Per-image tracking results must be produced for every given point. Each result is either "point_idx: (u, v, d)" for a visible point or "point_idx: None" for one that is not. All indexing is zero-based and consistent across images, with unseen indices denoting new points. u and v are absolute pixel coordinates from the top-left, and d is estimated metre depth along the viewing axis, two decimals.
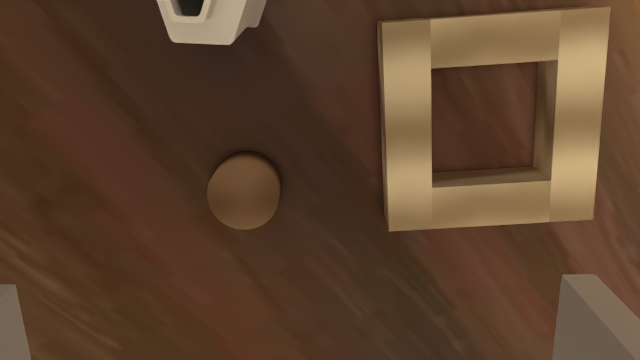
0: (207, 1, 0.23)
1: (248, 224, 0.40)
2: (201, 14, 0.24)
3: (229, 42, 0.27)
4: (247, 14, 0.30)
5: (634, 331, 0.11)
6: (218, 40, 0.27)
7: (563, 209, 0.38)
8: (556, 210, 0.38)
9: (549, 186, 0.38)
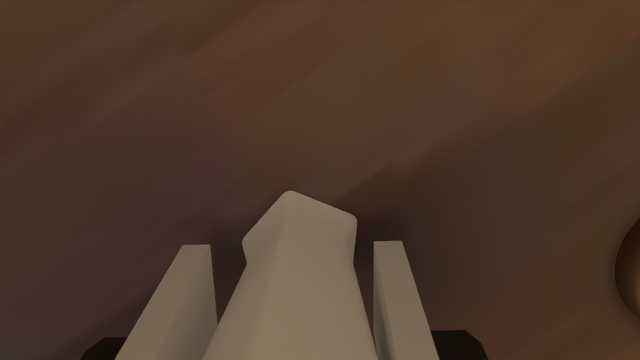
0: None
1: None
2: None
3: None
4: (328, 356, 0.10)
5: (401, 282, 0.13)
6: None
7: None
8: None
9: None
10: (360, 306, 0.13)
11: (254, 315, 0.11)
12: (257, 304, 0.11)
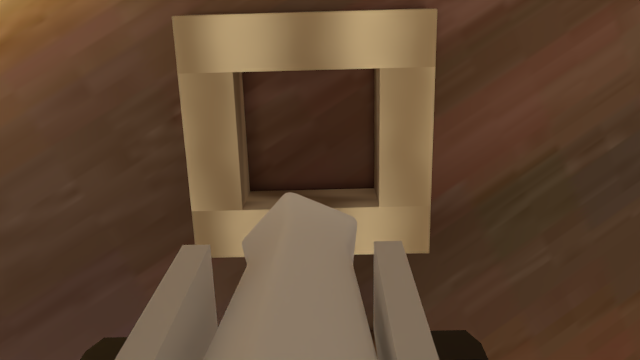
0: None
1: None
2: None
3: None
4: (328, 359, 0.10)
5: (401, 283, 0.13)
6: None
7: (420, 48, 0.30)
8: (419, 58, 0.30)
9: (387, 69, 0.30)
10: (360, 308, 0.13)
11: (254, 318, 0.11)
12: (257, 307, 0.11)
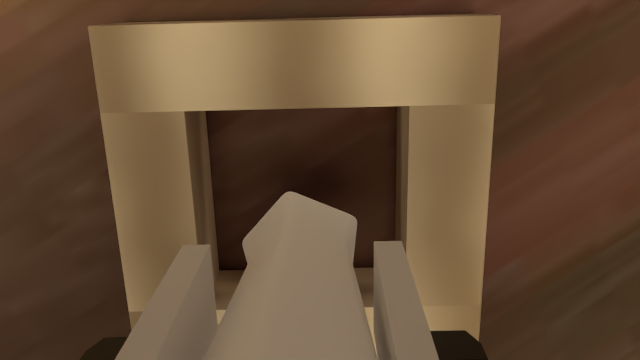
0: None
1: None
2: None
3: None
4: (328, 357, 0.10)
5: (401, 282, 0.13)
6: None
7: (472, 76, 0.19)
8: (471, 92, 0.20)
9: (421, 108, 0.20)
10: (360, 307, 0.13)
11: (254, 316, 0.11)
12: (257, 305, 0.12)
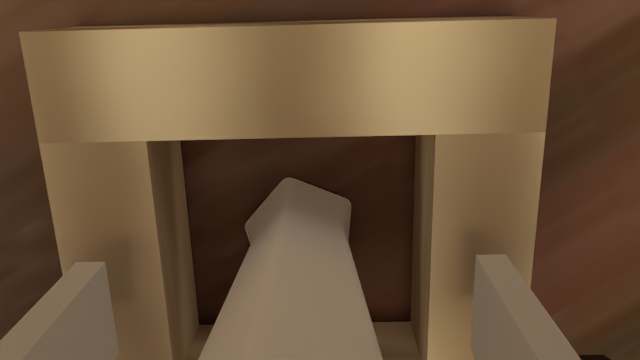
0: None
1: None
2: None
3: None
4: (326, 314, 0.12)
5: (525, 302, 0.12)
6: None
7: (517, 97, 0.15)
8: (515, 117, 0.15)
9: (450, 137, 0.15)
10: (354, 276, 0.14)
11: (260, 282, 0.12)
12: (262, 273, 0.13)
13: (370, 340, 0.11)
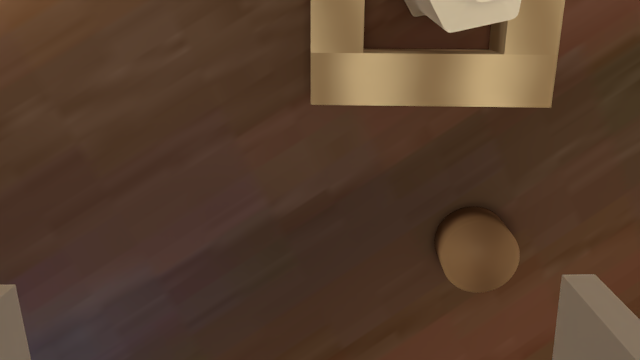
0: None
1: (513, 256, 0.36)
2: None
3: None
4: None
5: (634, 331, 0.11)
6: None
7: None
8: None
9: None
10: None
11: None
12: None
13: None
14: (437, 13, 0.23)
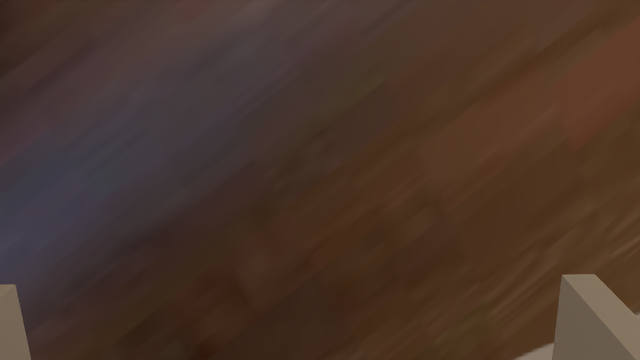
0: None
1: None
2: None
3: None
4: None
5: (634, 331, 0.11)
6: None
7: None
8: None
9: None
10: None
11: None
12: None
13: None
14: None
